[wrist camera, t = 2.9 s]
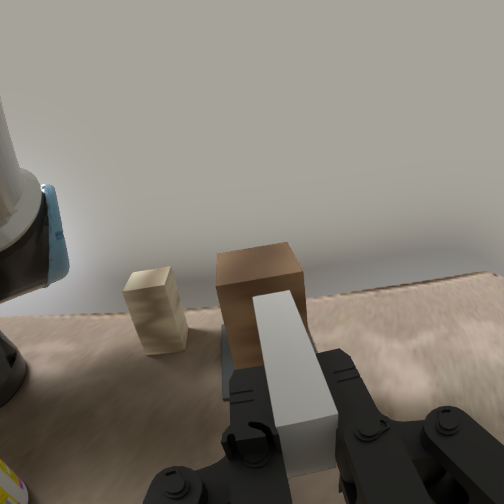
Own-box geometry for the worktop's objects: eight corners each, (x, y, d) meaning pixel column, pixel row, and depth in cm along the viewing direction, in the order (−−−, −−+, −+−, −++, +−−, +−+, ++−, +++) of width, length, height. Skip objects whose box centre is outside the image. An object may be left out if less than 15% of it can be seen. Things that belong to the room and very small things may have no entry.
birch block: (146, 355, 37) (122, 291, 34) (153, 332, 42) (132, 272, 38) (185, 351, 37) (164, 284, 34) (188, 327, 42) (170, 266, 38)
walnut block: (254, 441, 24) (215, 286, 18) (249, 400, 28) (217, 253, 23) (313, 430, 24) (303, 271, 18) (301, 391, 29) (287, 242, 23)
